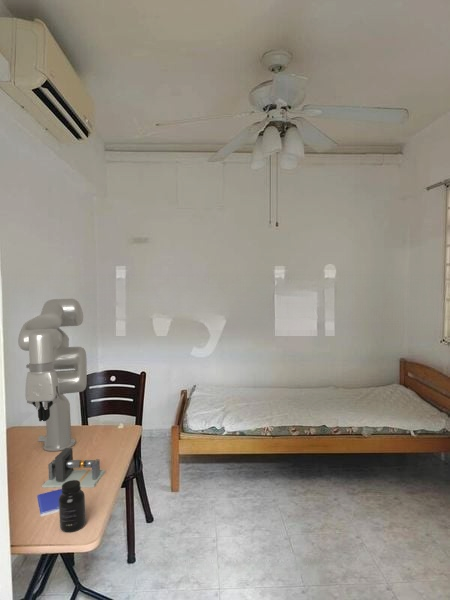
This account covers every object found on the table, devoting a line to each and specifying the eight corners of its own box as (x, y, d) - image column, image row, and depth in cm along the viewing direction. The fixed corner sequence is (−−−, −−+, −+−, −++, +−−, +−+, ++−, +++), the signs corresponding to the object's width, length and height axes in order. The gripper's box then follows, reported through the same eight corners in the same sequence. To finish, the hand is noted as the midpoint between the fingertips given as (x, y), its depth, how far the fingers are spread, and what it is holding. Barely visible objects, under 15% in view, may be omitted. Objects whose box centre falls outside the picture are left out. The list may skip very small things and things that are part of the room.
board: (42, 487, 136) (42, 484, 136) (57, 472, 147) (57, 469, 146) (93, 487, 135) (93, 484, 135) (105, 472, 146) (105, 469, 146)
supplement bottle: (64, 519, 116) (62, 478, 116) (88, 518, 117) (87, 477, 116) (56, 534, 109) (54, 490, 109) (82, 532, 110) (80, 489, 110)
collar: (56, 480, 137) (55, 457, 136) (66, 470, 145) (65, 448, 144) (63, 480, 137) (62, 457, 136) (73, 470, 145) (72, 448, 144)
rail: (49, 480, 139) (48, 463, 139) (54, 474, 143) (53, 458, 143) (95, 479, 138) (95, 462, 138) (100, 474, 142) (99, 457, 142)
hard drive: (70, 505, 122) (64, 487, 133) (40, 513, 118) (37, 494, 129) (70, 510, 122) (64, 492, 133) (40, 518, 118) (37, 499, 129)
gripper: (14, 370, 136) (16, 424, 137) (58, 369, 136) (60, 423, 136) (26, 365, 144) (28, 416, 144) (68, 364, 143) (70, 416, 144)
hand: (44, 419), depth 140 cm, fingers closed
